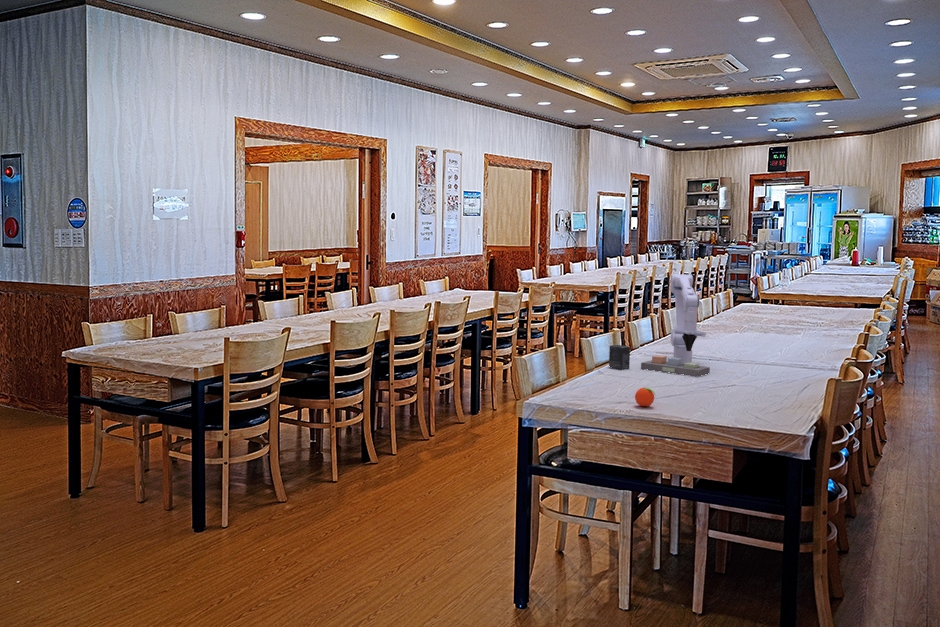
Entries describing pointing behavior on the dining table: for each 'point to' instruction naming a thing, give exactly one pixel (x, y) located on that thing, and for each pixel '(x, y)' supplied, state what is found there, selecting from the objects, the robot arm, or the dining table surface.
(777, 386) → the dining table surface
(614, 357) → the box
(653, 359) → the terracotta button
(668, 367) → the button panel
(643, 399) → the clementine
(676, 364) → the slate button
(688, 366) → the sage button
